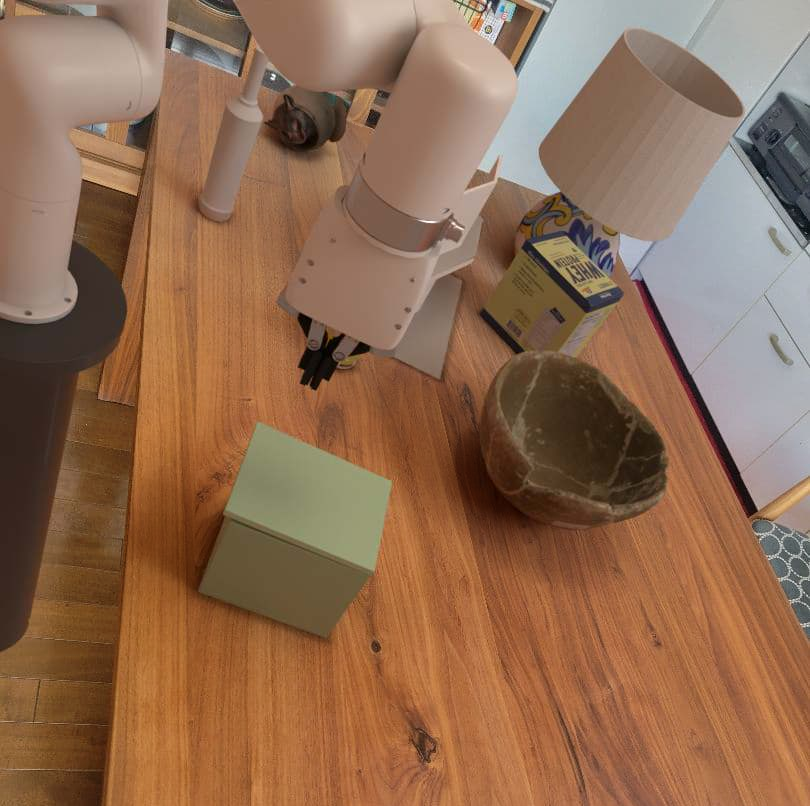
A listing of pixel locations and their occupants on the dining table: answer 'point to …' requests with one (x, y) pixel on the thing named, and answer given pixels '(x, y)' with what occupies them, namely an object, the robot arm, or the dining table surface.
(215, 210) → the bottle
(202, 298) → the dining table surface
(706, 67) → the table lamp
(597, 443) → the bowl
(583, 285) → the protein box
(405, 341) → the architectural model
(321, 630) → the box
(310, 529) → the lid
